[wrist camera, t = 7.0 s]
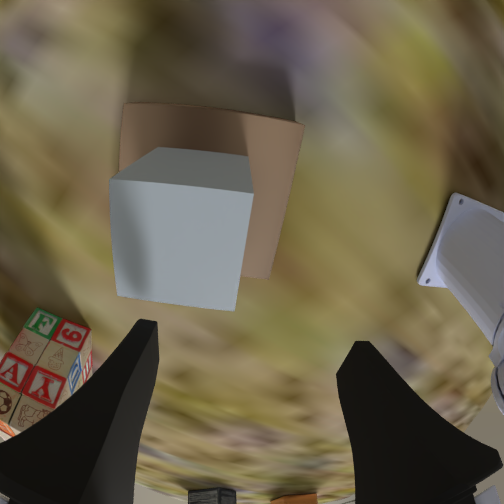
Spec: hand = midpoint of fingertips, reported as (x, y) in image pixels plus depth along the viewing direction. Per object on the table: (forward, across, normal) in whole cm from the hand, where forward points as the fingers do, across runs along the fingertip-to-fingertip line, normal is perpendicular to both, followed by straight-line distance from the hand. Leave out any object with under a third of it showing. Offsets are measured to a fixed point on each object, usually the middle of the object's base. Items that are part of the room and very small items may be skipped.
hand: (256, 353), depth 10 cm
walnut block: (+10, +3, -3) cm, 11 cm away
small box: (+10, -3, +67) cm, 68 cm away
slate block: (+7, +3, -3) cm, 8 cm away
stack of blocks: (+10, +17, +21) cm, 29 cm away
